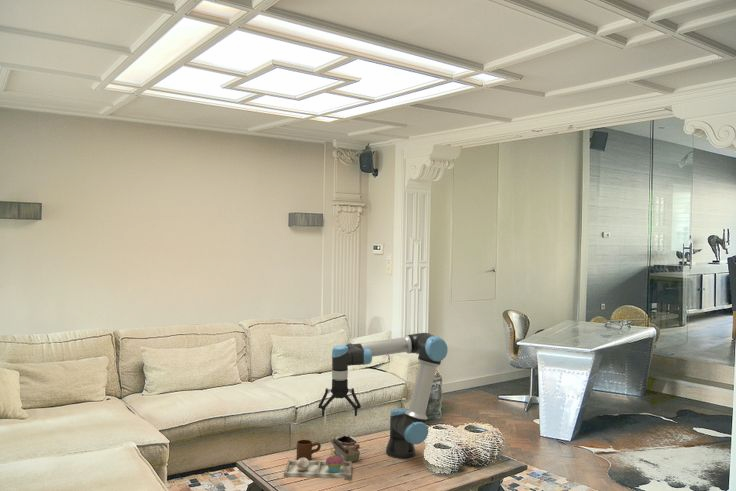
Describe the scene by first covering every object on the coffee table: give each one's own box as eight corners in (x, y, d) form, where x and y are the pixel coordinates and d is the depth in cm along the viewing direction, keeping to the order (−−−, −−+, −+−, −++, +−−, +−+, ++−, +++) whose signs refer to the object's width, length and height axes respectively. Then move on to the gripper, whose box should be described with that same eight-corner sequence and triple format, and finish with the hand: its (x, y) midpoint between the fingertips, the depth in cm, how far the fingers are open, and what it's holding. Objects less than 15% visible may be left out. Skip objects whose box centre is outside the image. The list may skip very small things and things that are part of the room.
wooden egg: (309, 468, 293) (309, 455, 293) (308, 473, 287) (308, 460, 287) (297, 467, 293) (297, 455, 293) (295, 472, 287) (296, 460, 287)
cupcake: (329, 475, 285) (330, 450, 284) (322, 469, 292) (323, 444, 292) (346, 472, 289) (346, 447, 288) (338, 466, 296) (339, 441, 296)
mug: (319, 457, 310) (320, 439, 310) (321, 463, 302) (321, 444, 302) (296, 458, 308) (296, 439, 308) (296, 463, 300) (297, 444, 300)
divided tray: (351, 466, 298) (351, 461, 298) (350, 479, 283) (351, 474, 282) (287, 465, 298) (287, 460, 298) (283, 478, 282) (283, 473, 282)
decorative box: (335, 465, 300) (335, 445, 300) (324, 451, 319) (324, 433, 319) (360, 462, 304) (361, 443, 304) (348, 449, 323) (348, 430, 323)
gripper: (365, 376, 296) (365, 420, 296) (314, 376, 295) (313, 420, 296) (366, 380, 288) (365, 425, 289) (313, 380, 288) (312, 425, 288)
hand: (339, 422), depth 292 cm, fingers open, 13 cm apart
